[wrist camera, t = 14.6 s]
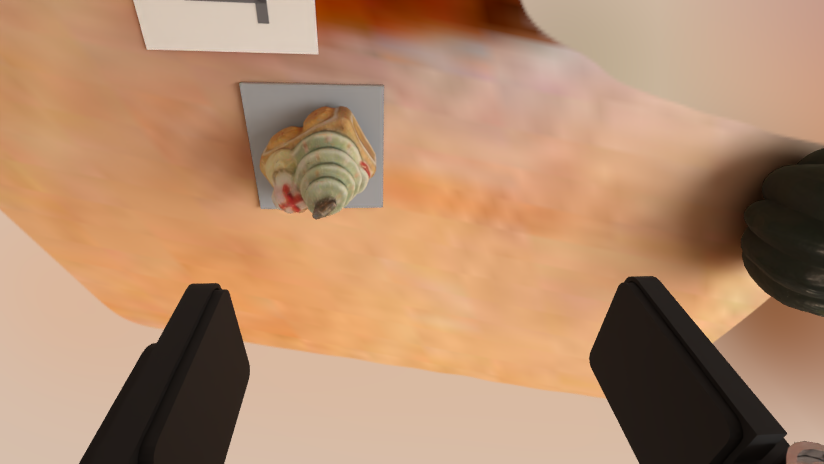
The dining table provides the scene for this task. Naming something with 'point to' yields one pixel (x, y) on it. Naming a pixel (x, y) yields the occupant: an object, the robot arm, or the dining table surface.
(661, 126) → the dining table surface
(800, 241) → the squash
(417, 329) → the dining table surface
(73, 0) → the dining table surface
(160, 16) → the tile
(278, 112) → the grey mat
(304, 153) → the ornament
